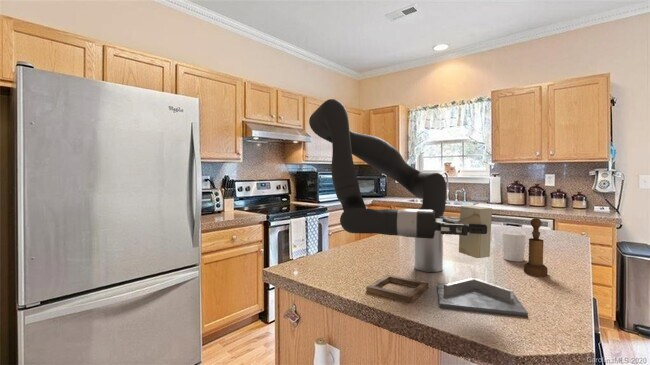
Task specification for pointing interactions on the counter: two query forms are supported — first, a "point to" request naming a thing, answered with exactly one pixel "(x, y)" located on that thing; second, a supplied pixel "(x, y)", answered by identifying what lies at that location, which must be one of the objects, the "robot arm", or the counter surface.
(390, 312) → the counter surface
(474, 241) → the skincare box
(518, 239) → the white cup
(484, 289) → the grey corner stand
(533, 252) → the mortar and pestle
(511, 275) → the counter surface
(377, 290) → the square wooden frame
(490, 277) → the counter surface
